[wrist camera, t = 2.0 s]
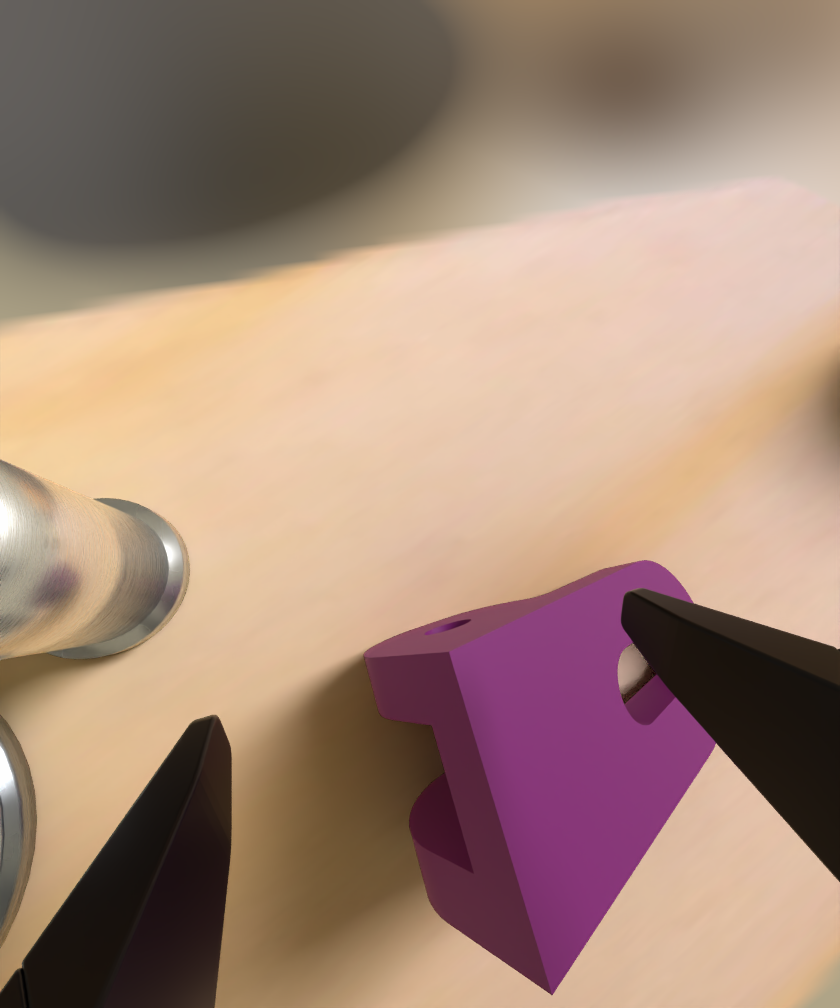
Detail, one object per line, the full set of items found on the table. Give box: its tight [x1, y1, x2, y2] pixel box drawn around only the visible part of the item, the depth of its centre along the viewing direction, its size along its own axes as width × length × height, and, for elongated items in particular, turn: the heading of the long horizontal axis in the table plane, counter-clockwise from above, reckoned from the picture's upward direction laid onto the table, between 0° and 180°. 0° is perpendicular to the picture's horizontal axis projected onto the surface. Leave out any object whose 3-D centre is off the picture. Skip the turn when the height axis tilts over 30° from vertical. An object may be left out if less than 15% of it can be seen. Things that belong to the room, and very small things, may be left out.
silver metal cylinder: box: [0, 460, 190, 660], centre depth 14 cm, size 7×7×13 cm
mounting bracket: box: [364, 560, 716, 995], centre depth 21 cm, size 10×8×18 cm
